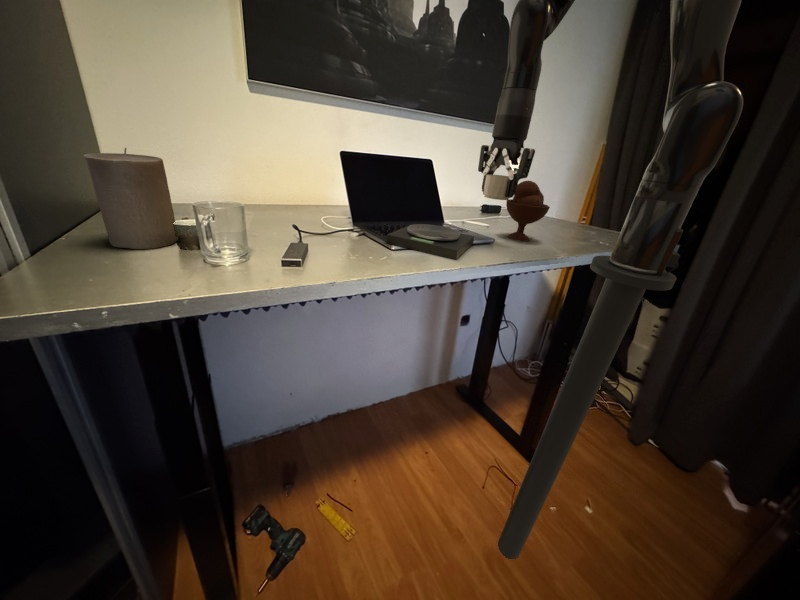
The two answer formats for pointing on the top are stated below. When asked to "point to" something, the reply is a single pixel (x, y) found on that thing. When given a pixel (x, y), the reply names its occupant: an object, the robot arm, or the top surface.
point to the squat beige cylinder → (496, 187)
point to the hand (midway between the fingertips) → (496, 194)
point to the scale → (431, 243)
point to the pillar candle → (133, 199)
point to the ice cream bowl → (526, 207)
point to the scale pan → (433, 232)
